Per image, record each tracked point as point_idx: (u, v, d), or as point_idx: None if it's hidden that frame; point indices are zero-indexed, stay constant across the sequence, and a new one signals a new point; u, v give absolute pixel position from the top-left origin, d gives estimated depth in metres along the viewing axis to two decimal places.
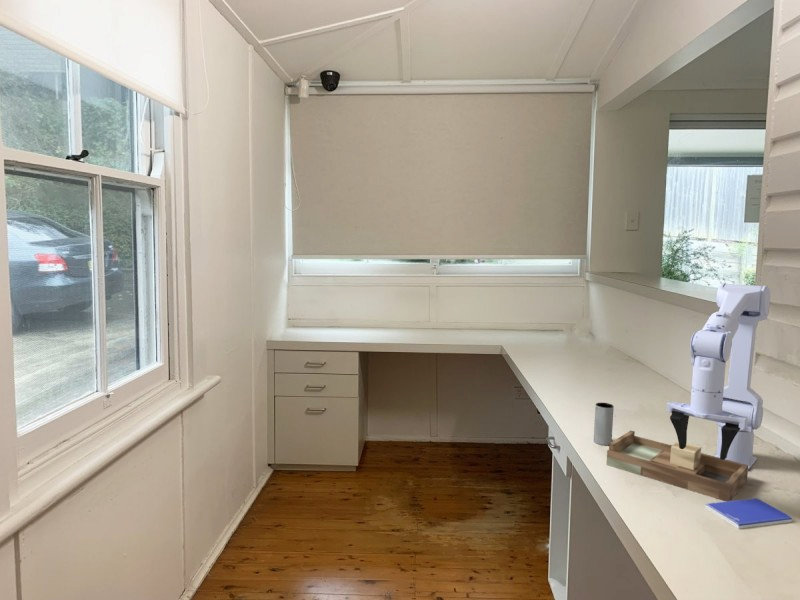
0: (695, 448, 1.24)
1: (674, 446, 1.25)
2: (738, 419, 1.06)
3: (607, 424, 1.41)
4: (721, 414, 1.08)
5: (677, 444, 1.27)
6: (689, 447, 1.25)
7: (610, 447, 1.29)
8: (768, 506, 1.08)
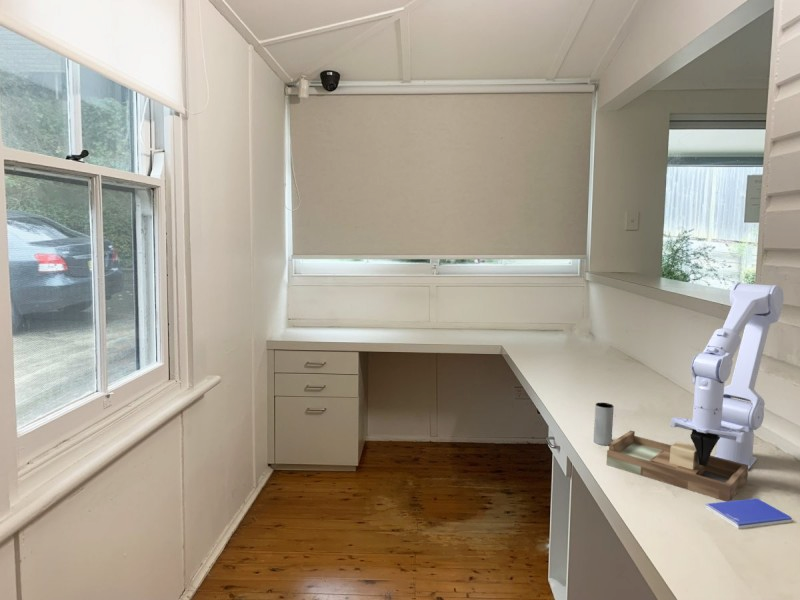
0: (694, 448, 1.24)
1: (673, 446, 1.26)
2: (735, 434, 1.17)
3: (607, 424, 1.41)
4: (720, 429, 1.20)
5: (676, 444, 1.27)
6: (688, 447, 1.25)
7: (610, 447, 1.29)
8: (768, 506, 1.08)
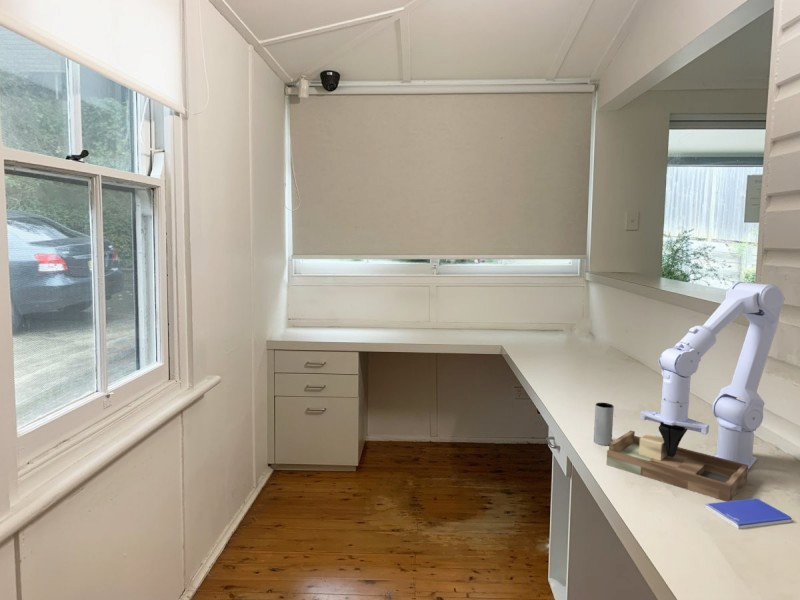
0: (663, 440, 1.29)
1: (643, 438, 1.30)
2: (700, 426, 1.22)
3: (607, 424, 1.41)
4: (686, 422, 1.24)
5: (646, 436, 1.32)
6: (657, 439, 1.30)
7: (610, 447, 1.29)
8: (768, 506, 1.08)
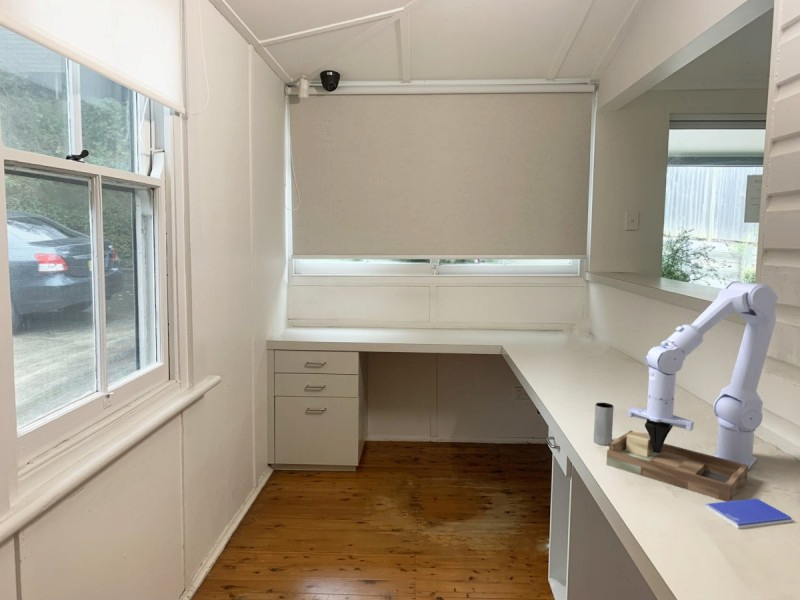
0: (649, 436, 1.32)
1: (630, 435, 1.33)
2: (685, 423, 1.24)
3: (607, 424, 1.41)
4: (672, 418, 1.27)
5: (633, 433, 1.34)
6: (643, 435, 1.32)
7: (610, 447, 1.29)
8: (768, 506, 1.08)
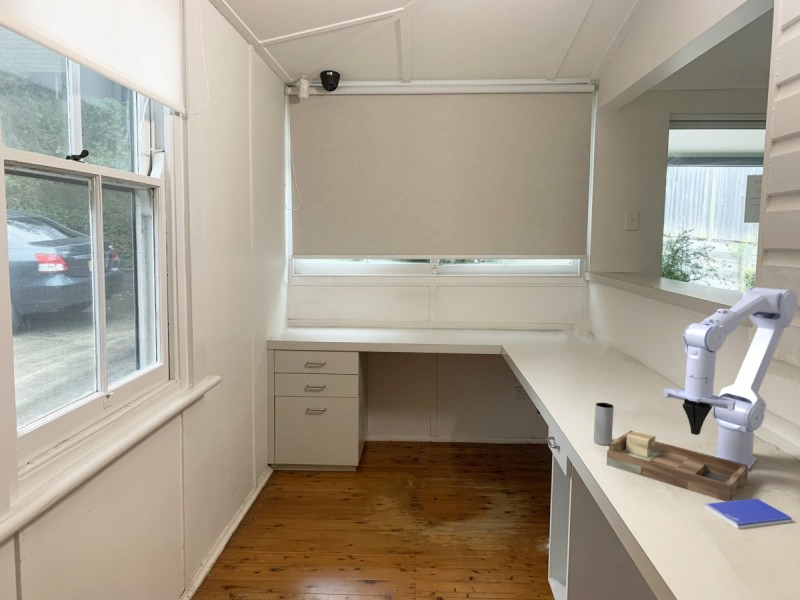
0: (649, 436, 1.32)
1: (630, 435, 1.33)
2: (727, 402, 1.19)
3: (607, 424, 1.41)
4: (712, 398, 1.21)
5: (633, 433, 1.34)
6: (643, 435, 1.32)
7: (610, 447, 1.29)
8: (768, 506, 1.08)
